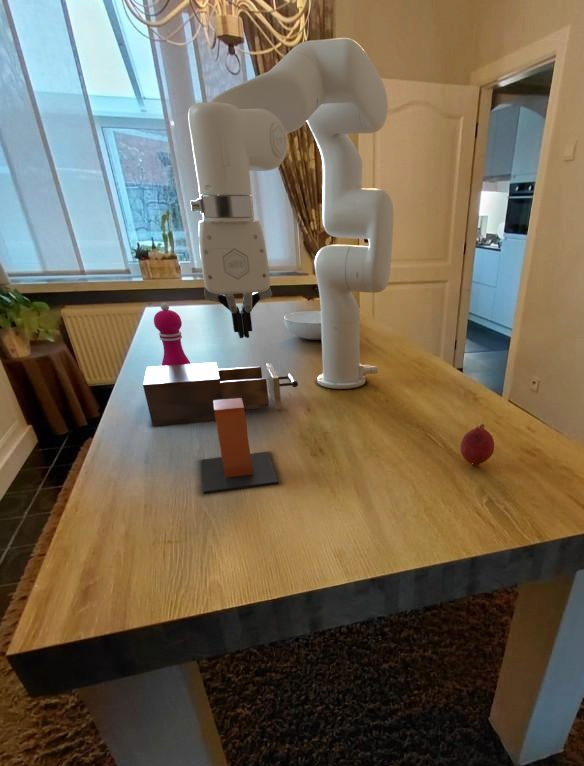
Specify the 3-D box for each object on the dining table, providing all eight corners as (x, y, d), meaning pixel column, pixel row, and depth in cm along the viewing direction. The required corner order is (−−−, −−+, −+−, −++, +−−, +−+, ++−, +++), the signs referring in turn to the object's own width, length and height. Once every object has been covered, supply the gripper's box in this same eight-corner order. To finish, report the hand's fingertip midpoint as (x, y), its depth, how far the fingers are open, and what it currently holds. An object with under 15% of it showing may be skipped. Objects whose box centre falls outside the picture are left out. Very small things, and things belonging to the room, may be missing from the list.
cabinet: (222, 399, 116) (216, 362, 112) (225, 419, 106) (219, 378, 101) (155, 405, 113) (146, 366, 108) (152, 426, 102) (142, 384, 98)
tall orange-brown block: (250, 462, 88) (241, 397, 81) (252, 474, 84) (244, 407, 78) (223, 466, 87) (212, 400, 80) (225, 478, 83) (214, 410, 77)
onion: (483, 476, 86) (490, 433, 81) (453, 467, 88) (458, 425, 84) (495, 463, 90) (502, 422, 86) (465, 455, 92) (471, 415, 88)
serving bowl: (344, 345, 161) (344, 323, 158) (280, 344, 161) (279, 322, 158) (347, 331, 179) (347, 310, 175) (290, 330, 179) (288, 310, 175)
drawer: (292, 390, 120) (290, 361, 116) (301, 406, 110) (299, 376, 107) (215, 397, 115) (211, 367, 111) (218, 414, 106) (213, 383, 102)
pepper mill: (186, 394, 119) (170, 306, 108) (159, 392, 120) (140, 304, 109) (201, 385, 125) (186, 300, 114) (175, 383, 126) (158, 299, 115)
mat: (268, 453, 92) (268, 451, 92) (278, 483, 82) (278, 481, 82) (202, 461, 89) (201, 459, 89) (203, 493, 79) (203, 491, 79)
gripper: (175, 210, 69) (198, 344, 79) (281, 210, 73) (291, 338, 83) (175, 209, 75) (197, 334, 85) (274, 209, 79) (283, 328, 89)
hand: (243, 335), depth 84 cm, fingers closed
